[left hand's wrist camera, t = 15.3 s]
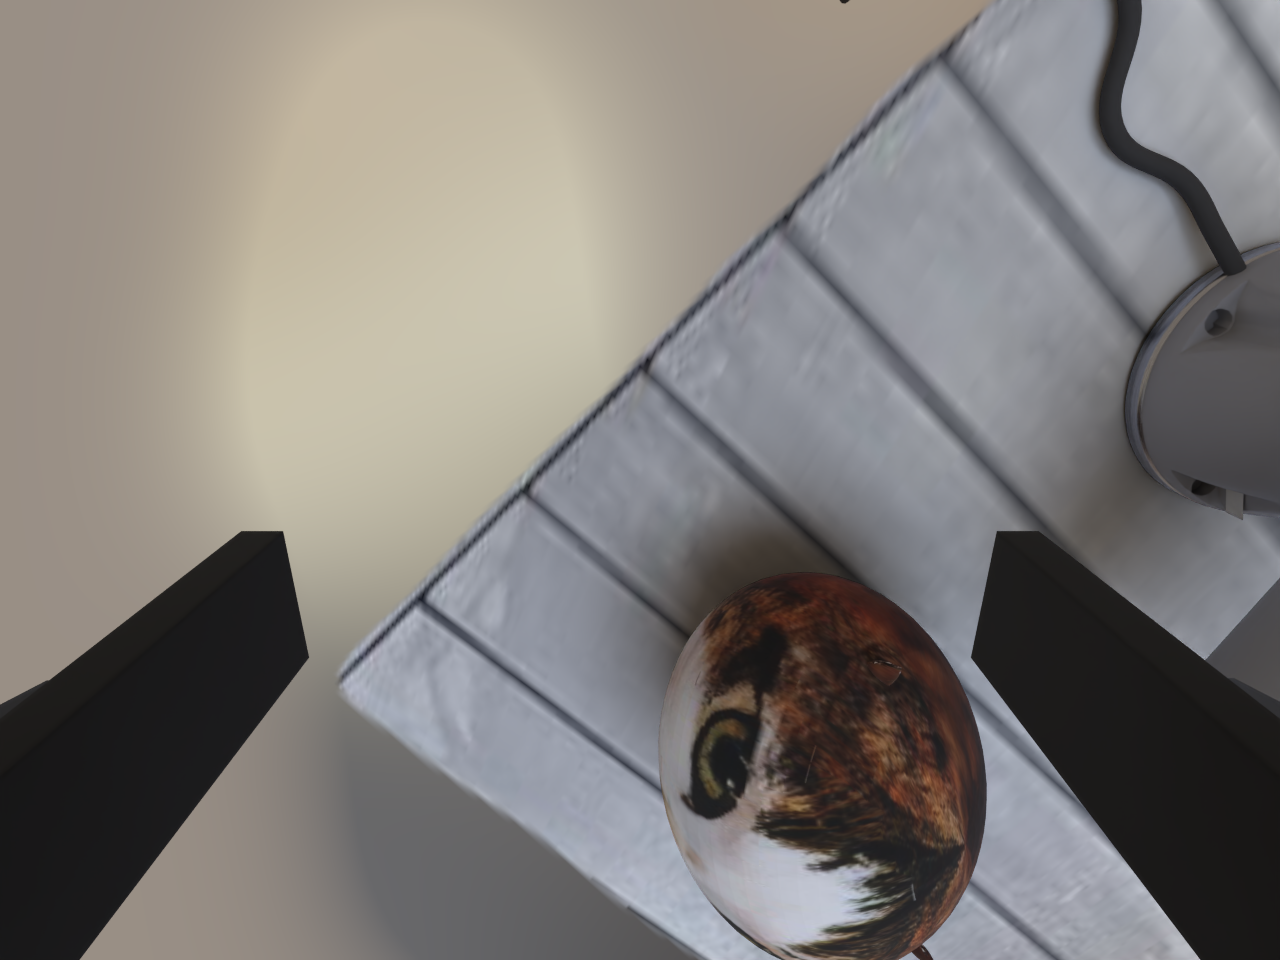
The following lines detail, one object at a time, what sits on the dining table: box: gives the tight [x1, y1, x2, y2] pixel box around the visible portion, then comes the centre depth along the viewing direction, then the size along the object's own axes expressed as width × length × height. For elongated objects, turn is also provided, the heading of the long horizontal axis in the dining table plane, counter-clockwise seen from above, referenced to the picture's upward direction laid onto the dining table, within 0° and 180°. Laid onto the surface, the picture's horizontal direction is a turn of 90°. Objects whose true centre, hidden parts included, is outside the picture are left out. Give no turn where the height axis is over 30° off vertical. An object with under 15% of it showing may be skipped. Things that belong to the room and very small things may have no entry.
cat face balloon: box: [659, 572, 987, 960], centre depth 39 cm, size 22×18×20 cm
